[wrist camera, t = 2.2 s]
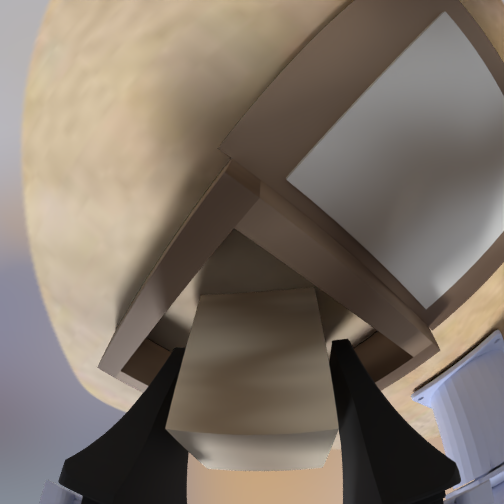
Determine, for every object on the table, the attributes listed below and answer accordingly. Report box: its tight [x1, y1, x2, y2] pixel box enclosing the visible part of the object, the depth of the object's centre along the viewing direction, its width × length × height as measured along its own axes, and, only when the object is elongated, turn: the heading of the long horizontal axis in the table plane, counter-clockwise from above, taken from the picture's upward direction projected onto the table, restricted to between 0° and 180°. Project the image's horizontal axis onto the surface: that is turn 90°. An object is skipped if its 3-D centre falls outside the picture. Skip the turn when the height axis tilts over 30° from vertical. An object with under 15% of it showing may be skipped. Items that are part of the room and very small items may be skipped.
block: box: [165, 287, 339, 471], centre depth 10 cm, size 5×5×6 cm
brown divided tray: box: [97, 0, 504, 393], centre depth 9 cm, size 12×21×2 cm, turn 142°
